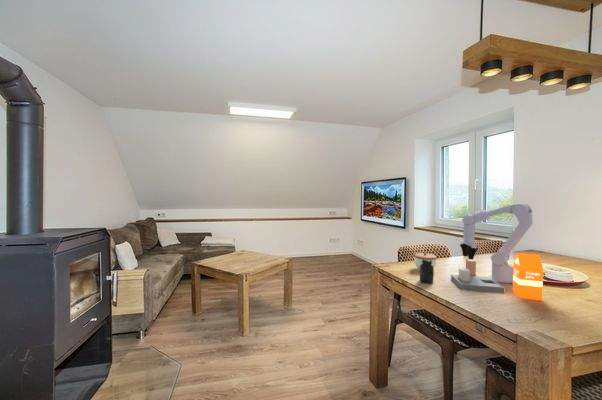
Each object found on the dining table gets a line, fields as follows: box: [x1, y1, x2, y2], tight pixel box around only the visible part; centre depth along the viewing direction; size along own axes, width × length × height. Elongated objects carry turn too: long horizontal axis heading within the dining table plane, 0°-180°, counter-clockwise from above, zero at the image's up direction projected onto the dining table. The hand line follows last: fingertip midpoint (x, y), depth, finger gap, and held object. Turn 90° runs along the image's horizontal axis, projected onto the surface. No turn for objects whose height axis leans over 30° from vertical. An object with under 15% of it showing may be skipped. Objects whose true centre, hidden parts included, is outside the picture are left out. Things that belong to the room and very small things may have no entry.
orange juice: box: [512, 252, 544, 301], centre depth 130 cm, size 8×9×20 cm
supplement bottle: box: [419, 259, 435, 285], centre depth 149 cm, size 7×7×12 cm
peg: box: [465, 258, 477, 276], centre depth 164 cm, size 4×4×8 cm
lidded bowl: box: [413, 251, 437, 271], centre depth 171 cm, size 13×13×11 cm
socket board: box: [450, 267, 505, 293], centre depth 144 cm, size 19×16×8 cm
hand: (468, 257), depth 164 cm, fingers open, 7 cm apart
